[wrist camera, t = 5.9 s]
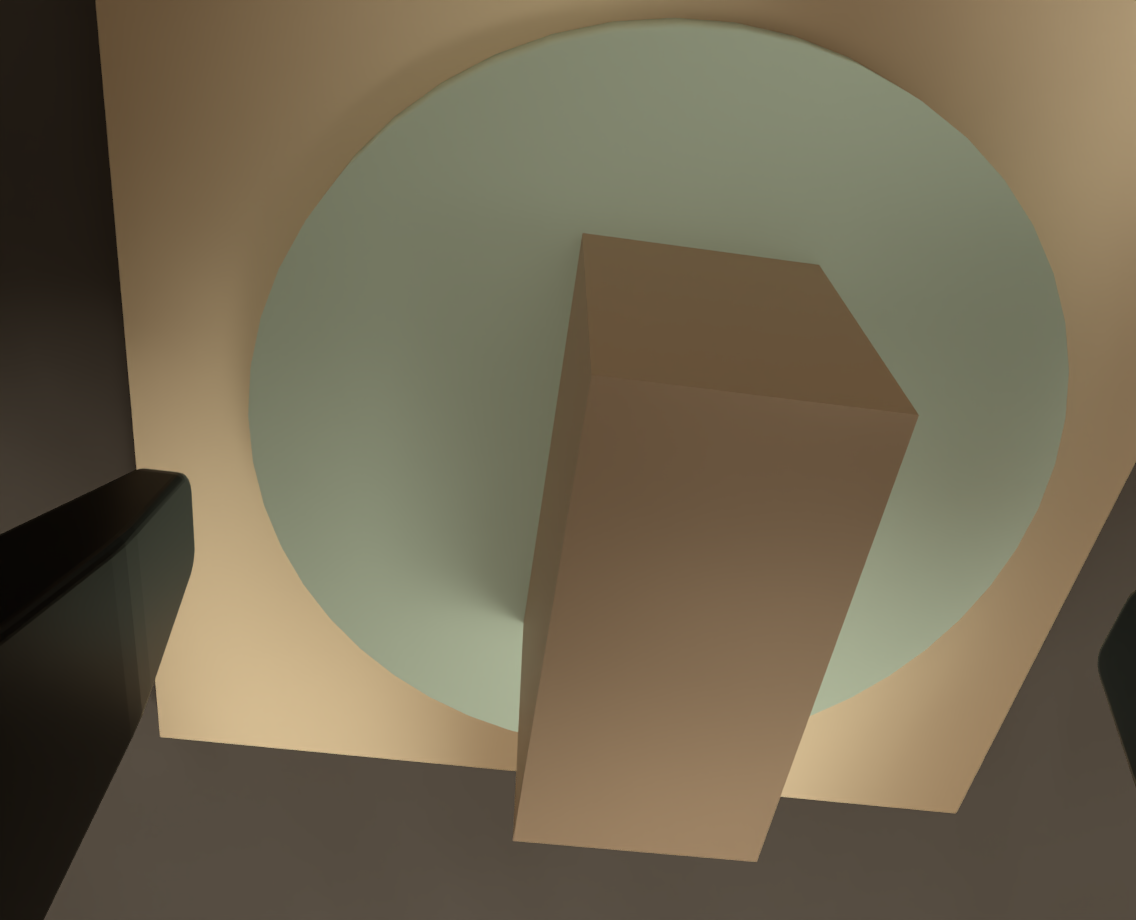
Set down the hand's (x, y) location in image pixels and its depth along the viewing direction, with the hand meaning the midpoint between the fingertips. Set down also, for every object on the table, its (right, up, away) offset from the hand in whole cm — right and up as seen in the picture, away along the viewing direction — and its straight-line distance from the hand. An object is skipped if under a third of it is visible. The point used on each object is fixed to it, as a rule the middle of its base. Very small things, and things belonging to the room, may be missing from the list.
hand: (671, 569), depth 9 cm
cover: (0, +1, +2) cm, 3 cm away
